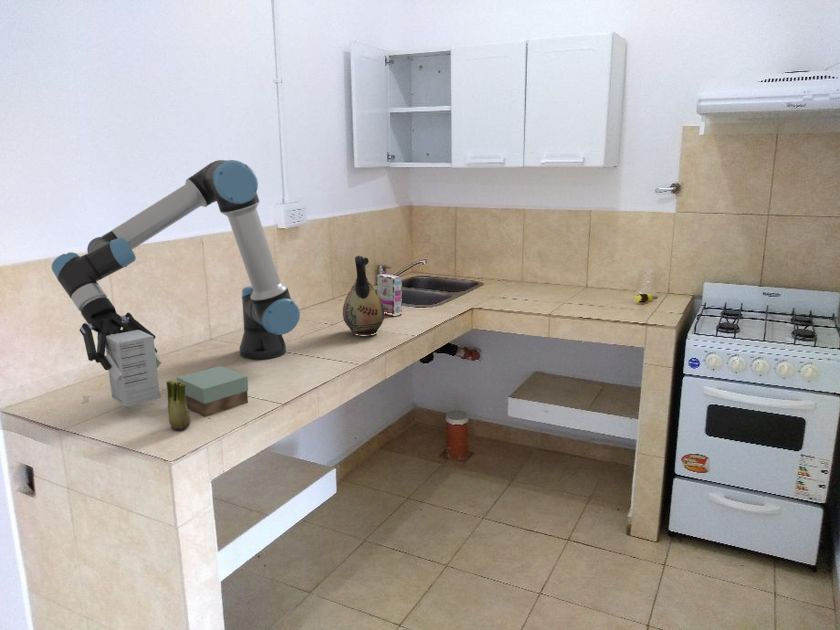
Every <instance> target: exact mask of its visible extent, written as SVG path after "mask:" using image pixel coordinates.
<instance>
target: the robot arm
mask: <svg viewBox="0 0 840 630" xmlns="http://www.w3.org/2000/svg"><path fill="white" fill-rule="evenodd" d="M258 189H259V181H258V177H257V174H256V172H255V171H254V170H253V169H252V167H250V166H249V165H248V164H245V163H243V162H241V161H239V160H235V159H234V160H233V159H230V160H223V159H220V160H219V159H218V160H215V161H213V162H210V163H208V164H207V165H206V166H204V167H203V168H201V169H200V170H198V171H197V172H196V173H194V174H193V175H191V176H190V177H188V178H187V179H186V180H185V183H184V185H182V186H180V187H179V188H177V189H176V190H175V191H174V190H173V191H172V192H171V193H169V194H168V195H166V196H164V197H163V198H161V199H160V200H158V201H157V202H155V203H153V204H152V205H149V206H148V207H147V208H145V209H144V210H142V211H141V212H138V213H137V214H135V215H134V216H132V217H131V218H129V219H127V220H126V221H124V222H122V223H121V224H119V225H117V226H116V227H115V228H113V229H112V230H110V231H109V232H106V233H105V234H103V235H102V236H98V237H95V238H93V239H92V240H90V241H89V243H88V244H87V248H86V251H87V253H86V254H84V255H81V256H80V255H79V254H78V253H76V252H72V251H71V252H67V253H62V254H60V255H59V256H57V257H56V258H55V259H54V260H53V262H51V263H52V264H51V271H52V273H53V274H54V276H55V278H56V280H57V281H58V283H60V285H61V287H62V288H63V289H64V291H65V292H66V293H67V295H68V297H69V298H70V299H71V301H72V302H73V304H74V305H75V307H76V308H77V310H78V311H79V312H80V313H81V314H80V315H81V316H82V317H83V319H84V320H85V322H84V323H82V325H81V326H80V329H79V332H80V333H81V336H82V337H83V340H84V347H85V351H86V354H87V359H88V361H90V362H93V361H95V363H97V364H101V366H102V368H103V369H104V371H108V373H109V372H110V373H111V375H112V376H113V378H114V379H115V381H119V380H120V378H121V377H122V375H123V374H122V373H121V371H120V370H119V368H118V367H117V365H116V364H115V363H114V361H113V360H112V358H111V357H110V355H109V354H108V355H107V354H106V347H105V346H106V336H108V335H113V334H119V333H124V332H129V331H134V330H141V331H143V332H145V333H147V334H149V335H151V336H153V337H154V340H155V339H156V335H155V334H154V333H152V332H151V331H150V330H149V329H147V328H146V327H145V326H144V325H142V324H141V323H140V322H139V321H138V320H136V319H135V318H134V317H133V315H132V314H131V313H130V312H127V313H126V314H125V315H120V314H118V313H117V311H116V308H115V306H114V305H113V302H111V300H110V299H109V298H108V295H107V294H106V293H105V291H104V290H103V289H102V287H101V286H100V285H99V281H101V280H103V279H104V278H106V277H108V276H110V275H113V274H115V273H116V272H118V271H120V270H122V269H124V268H127V267H128V266H129V265H131V264H132V263H134V262H135V261H136V259H137V257H136V254H135V253H134V251H133V250H134V249H136V248H137V247H140V245H142V244H144V243H145V242H147V241H148V240H150V239H152V238H153V237H155V236H156V235H158V234H159V233H160V232H163V230H165V229H167V228H168V227H170V226H172V225H173V224H175V223H177V222H178V221H181V219H183V218H184V217H186V216H188V215H189V214H190V213H192V212H194V211H195V210H197V209H198V208H200V207H203V208H207V207H209V206H210V205H211V204H213V203H217V206H218V209H219V211H220V213H221V214H222V215H225V216H226V217H227V219H228V223H229V224H230V227H231V230H232V233H233V237H234V239H235V242H236V245H237V248H238V250H239V253H240V257H241V260H242V262H243V264H244V268H245V270H246V273H247V275H248V276H247V277H248V280H249V282H250V285H249V286H245V287H243V288H242V290H241V292H242V293H241V300H242V318H243V333H242V334H243V335H242V337H241V342H240V345H239V355H240V356H241V357H243V358H246V359H249V360H250V359H252V360H265V359H267V358H268V359H273V357H274V358H277V356H278V357H280V355H281V356H283V355H284V354H286V353H287V351H286V350H287V345H286V342H285V339H284V338H283V335H286V334H288V333H290V332H292V331H293V330H294V329H295V327H297V325H298V324H299V321H300V319H301V318H300V316H301V311H300V308H299V306H298V305H297V303H296V302H295V301H294V300H292V297H291V295H290V292H289V288H288V285H287V284H284V283H283V282H281V280H280V276H279V273H278V271H277V268H276V264H275V262H274V258H273V255H272V253H271V249H270V246H269V243H268V240H267V237H266V234H265V231H264V228H263V225H262V221H261V219H260V216H259V213H258V212H259V211H258V209H257V208H258V206H259V204H260V199H259V196H258ZM93 331H94V332H96V333H97V336H96V337H97V344H95V339H94V336H93V335H94V334H93ZM96 345H97V346H96ZM96 347H97V348H96ZM282 354H283V355H282ZM155 356H156V365H157V369H158V368H160V365H162V363H163V360H162V359H161V357H160V356H159V354H158V350H157V348H156V347H155Z"/></svg>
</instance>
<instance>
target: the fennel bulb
mask: <svg viewBox="0 0 840 630" xmlns="http://www.w3.org/2000/svg"><path fill="white" fill-rule="evenodd" d="M165 384H166V389H167V409H168V410H167V412H168V421H169V426H170V428H171V429H172V430H174V431H182V430H185V429H188V427H190V424H191V422H192V421H191V420H192V419H191V415H190V413H189V411H190V410H189V409H188V407H187V403H186V395H185V384H183V383H181V382H180V381H178V382H177V381H172V380H166V383H165Z"/></svg>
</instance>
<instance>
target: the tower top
mask: <svg viewBox="0 0 840 630" xmlns="http://www.w3.org/2000/svg"><path fill="white" fill-rule="evenodd" d="M178 381H180V382H181V383H183V384H185V395H186V396H188V397H191V398H193V399H195V400H197V401H199V402H201V403H203V404H206V403H209V402H212V401H216V400H219V399H222V398H226V397H229V396H232V395H235V394H239V393H242V392H245V391H247V392H248V391H249V384H248V376H247V375H245V374H241V373H240V372H238V371H234V370H231V369H230V368H227V367H224V366H221V365H219V366H215V367H211V368H207V369H203V370H200V371H195V372H192V373H188V374H184V375H180V376H177V377H176V383H177V382H178Z"/></svg>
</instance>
